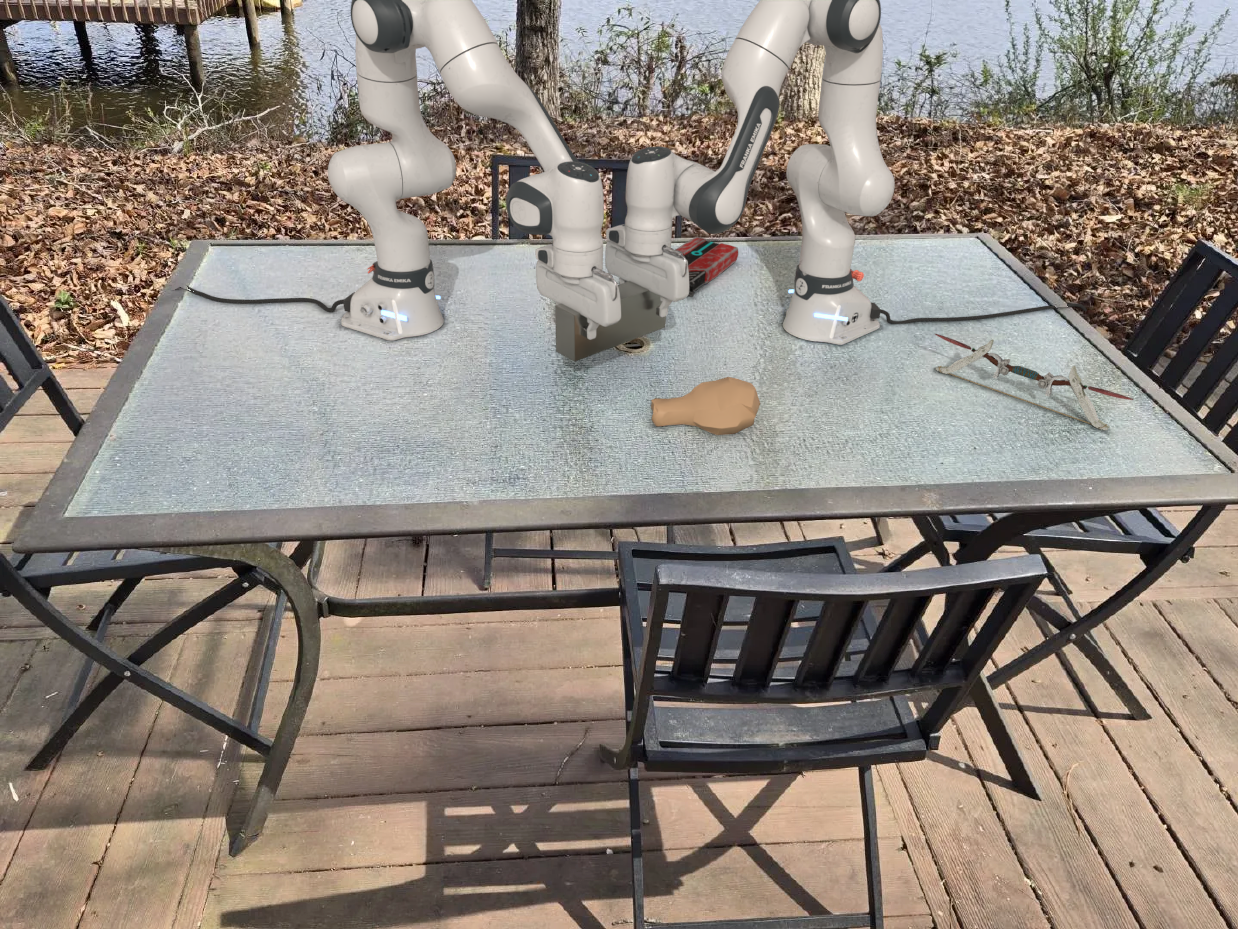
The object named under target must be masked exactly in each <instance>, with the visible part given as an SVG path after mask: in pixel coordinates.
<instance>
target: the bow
mask: <svg viewBox="0 0 1238 929" xmlns="http://www.w3.org/2000/svg"><path fill="white" fill-rule="evenodd" d="M934 336H937V337H938V338H940V339H942V340H943V341H946V342H948V343H950V344H953V345H955V346H957V347H960V348H963V349H966V350H970V351H971V352H972V354H970V355H966V356H963V357H962V358H960V359H958V360H956V361H954V362H953V363H952V364H951V365H949V366H942V365H938V366H937V367H935V370H936V371H937V372H939V373H941V374H945V375H946V374H947V375H950V376H953V377H956V378H958V379H962V380H964V381H967V382H970V383H973V384H975V385H979V386H981V387H984V388H987V389H990V390H992V391H996V392H998V393H1000V394H1003V395H1007V396H1010V397H1013V398H1015V399H1018V400H1021V401H1023V402H1026V403H1028V404H1032V405H1035V406H1037V407H1040V408H1044V409H1047V410H1049V411H1052V412H1054V413H1057V414H1060V415H1063V416H1066V417H1069V418H1070V419H1071V418H1072V419H1075V420H1077V421H1080V422H1083V423H1086V424H1089V425H1092V426H1093V427H1095V428H1097V429H1098V430H1101V431H1102V430H1103V431H1108V430H1109V429H1110V428H1111V427H1110V425H1108V424H1107V423H1105V422H1104V421H1102V420H1101V419H1099V418H1098V414H1097V410H1096V408H1095V406H1094V404H1093V403H1092V401H1091V398H1089V396H1087V394H1086V392H1085V390H1087V389H1088V390H1090V391H1092V392H1095V393H1098V394H1102V395H1105V396H1107V397H1108V396H1109V397H1112V398H1117V399H1122V400H1127V401H1128V400H1129V401H1134V399H1135V398H1132V397H1130V396H1126V395H1123V394H1120V393H1118V392H1114V391H1112V390H1111V391H1110V390H1107V389H1104V388H1099V387H1096V386H1091V385H1089V386H1088V385H1087V384H1083V382H1082V378H1081V377H1080V375H1079V373H1078V370H1077V367H1076V365H1073V366H1072V367H1071V368H1070V371H1069V374H1068V378H1067V377H1066V376H1064V375H1062V374H1061V375H1060V374H1059V375H1054V374H1053V373H1052V372H1050V371H1049V372H1047V373H1046V374H1045V375H1041V374H1040V373H1039V372H1038V371H1036V370H1034V369H1031V368H1027V367H1025V366H1022V365H1012V364H1010V363H1011V359H1010V358H1008V359H1007V358H1004V359H1003V357H1001V356H1000V355H999V354H997V353H994V352H990V350H992V348H993V346H994V343H995V342H994V341H995V340H994V339H990V340H989V342H987V343H986V344H984V345H981V346H980V347H979V348H977V349H976V348H974V347H971V346H970V345H967V344H965V343H963V342H962V341H959V340H956V339H953V338H950V337H947V336H945V335H943V334H939V333H934ZM982 359H986V360H988V361H989V363H990V364H992V365H994V366H995V367H996V370H995V371H994V372H993V375H992V378H994V379H996V380H997V379H998V378H999V376H1000V375H1002V376H1007V375H1008V374H1009V373H1013V374H1015V375H1018V376H1021V377H1024V378H1027V379H1029V380H1032V381H1037V386H1038V388H1040V389H1046V390H1045V391H1044V392H1045V394H1044V396H1046V397H1051V395H1052V391H1053V387H1054V386H1055V387H1062V386H1063V387H1065V386H1068V387H1069V388H1070V389H1071V391H1072V392H1073V394H1074V395H1075V397H1076V399H1077V401H1078V403H1079V405H1080V408H1081V409H1082V411H1083V413H1084V415H1085V417H1086V418H1087V420H1088V421H1089V422H1088V421H1086V420H1083V419H1081V418H1078V417H1075V416H1071V415H1069V414H1066V413H1063V412H1060V411H1057V410H1055V409H1052V408H1049V407H1046V406H1043V405H1041V404H1037V403H1035V402H1032V401H1029V400H1026V399H1023V398H1020V397H1017V396H1015V395H1013V394H1009V393H1007V392H1005V391H1001V390H998V389H995V388H993V387H990V386H987V385H984V384H981V383H979V382H977V381H976V382H975V381H973V380H970V379H967V378H964V377H961V376H958V375H956V374H953V373H955V372H956V371H958V372H959V371H960V370H962V369H963V368H965V367H967V366H969V365H971V364H973V363H975V362H977V361H980V360H982Z"/></svg>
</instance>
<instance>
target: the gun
mask: <svg viewBox="0 0 1238 929" xmlns="http://www.w3.org/2000/svg"><path fill="white" fill-rule="evenodd" d="M674 250H678V251H680V252H682V253H683V256H684V257H685V258H686V260H687V262H688V270H689V295H688V296H687V297H691V298H693V297H694V296H695V291H696V290H698V289H700V287H702V286H703V285H707V284H709V283H710V282H711V281H712V280H714V279H715V278H717V277H718V276H720V275H721V274H722V273H724V271H726V270H727V269H728V268H729V267H731V266H732V265H733V264H734V263H736V262H737V260H738V258H739V247H737V246H734V245H731V244H727V243H723V242H721V243H719V242H714V241H709V240H707V238H705V237H699V236H695V237H693V238H691V239H689V240H687V241H686V242H685V243H683V244H682V245H680V246H678V247H677V248H676V249H674ZM681 258H682V257H681Z"/></svg>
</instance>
